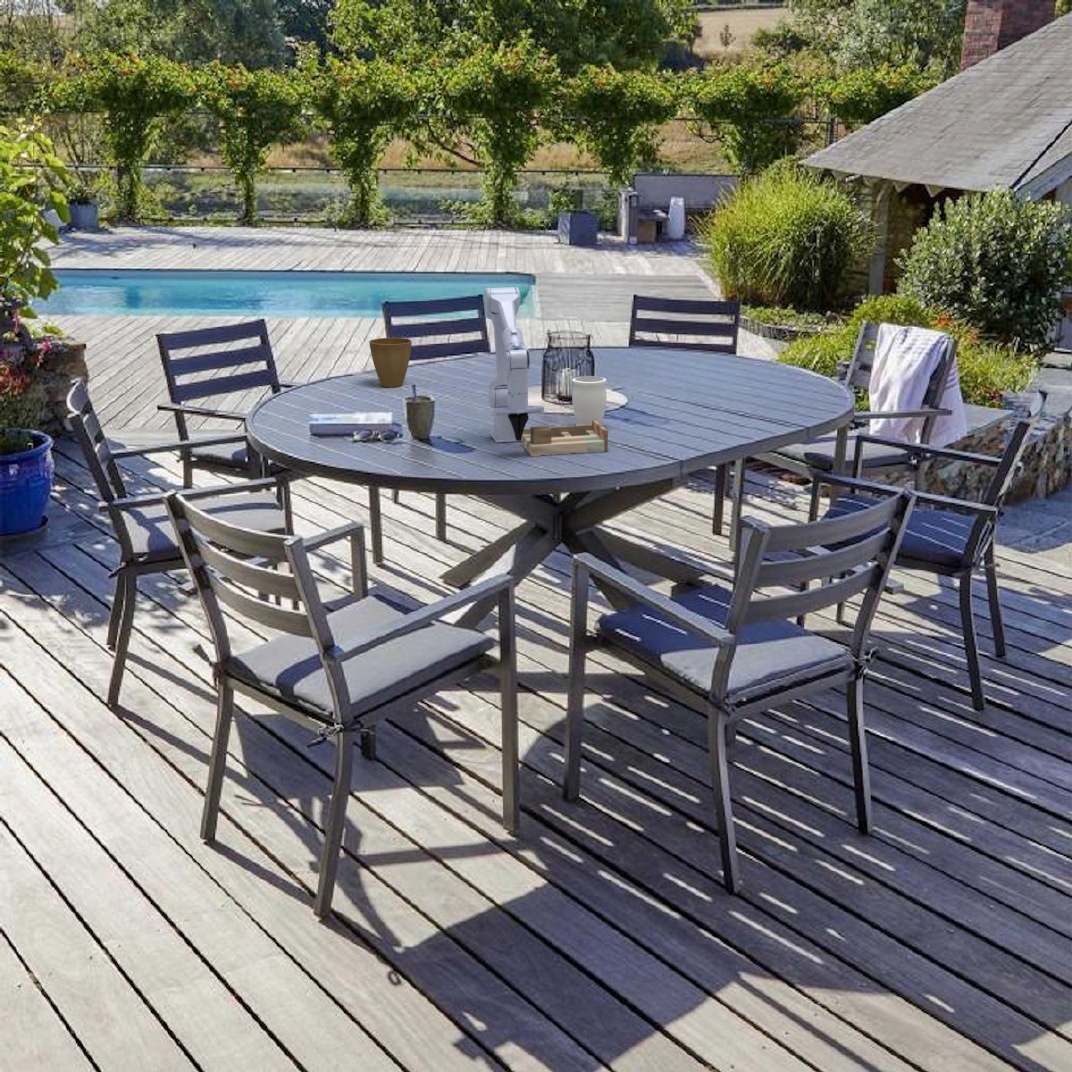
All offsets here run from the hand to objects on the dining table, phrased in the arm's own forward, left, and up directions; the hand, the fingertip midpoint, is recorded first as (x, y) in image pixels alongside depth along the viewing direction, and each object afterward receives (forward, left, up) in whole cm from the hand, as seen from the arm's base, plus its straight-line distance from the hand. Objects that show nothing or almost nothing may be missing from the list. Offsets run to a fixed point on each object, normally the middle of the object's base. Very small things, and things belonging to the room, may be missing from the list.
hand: (518, 439), depth 354 cm
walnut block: (0, +6, -1) cm, 7 cm away
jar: (-25, +27, -4) cm, 37 cm away
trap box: (-3, +14, -4) cm, 15 cm away
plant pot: (-103, -25, -4) cm, 106 cm away
